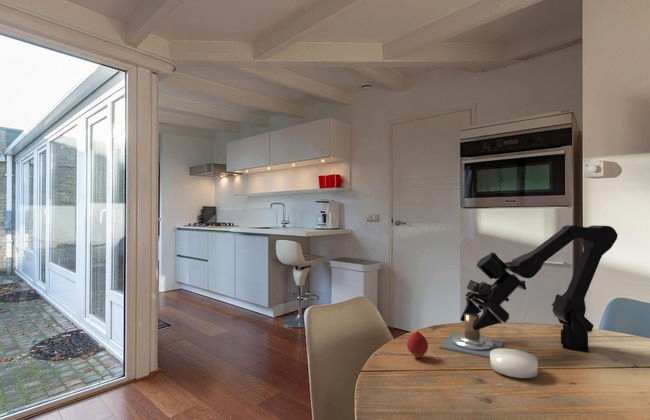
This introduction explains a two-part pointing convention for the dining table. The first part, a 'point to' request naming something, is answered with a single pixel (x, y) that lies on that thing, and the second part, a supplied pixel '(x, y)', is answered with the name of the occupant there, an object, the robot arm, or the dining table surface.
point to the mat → (450, 346)
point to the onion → (417, 344)
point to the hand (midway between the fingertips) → (467, 324)
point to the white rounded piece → (514, 363)
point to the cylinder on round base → (472, 336)
